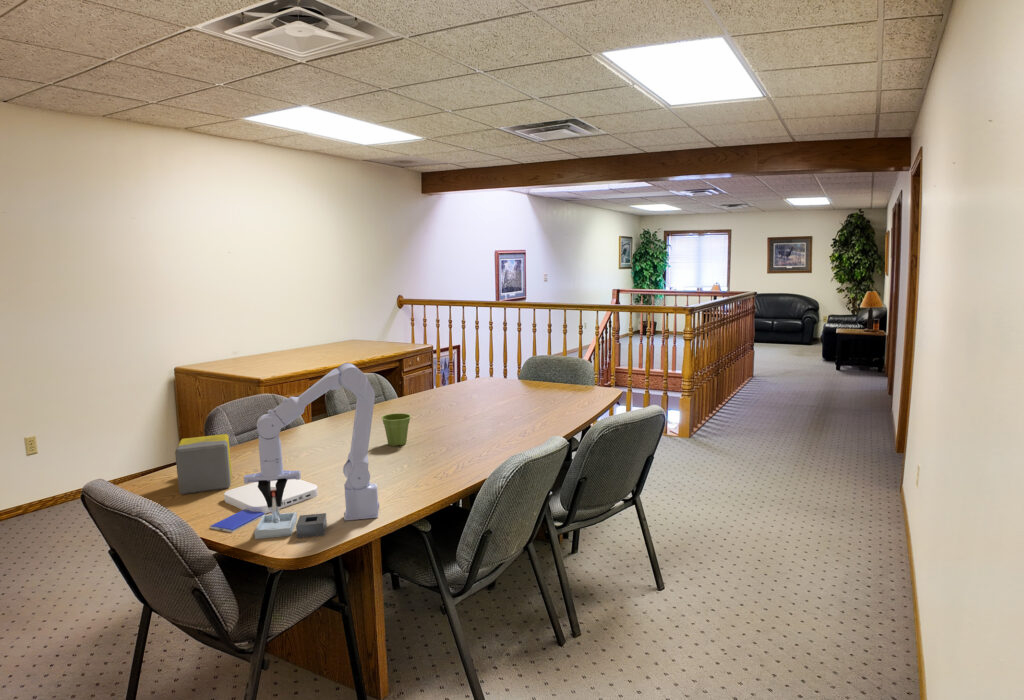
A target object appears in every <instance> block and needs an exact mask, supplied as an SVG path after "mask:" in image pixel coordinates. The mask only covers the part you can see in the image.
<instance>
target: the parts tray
mask: <svg viewBox="0 0 1024 700" xmlns="http://www.w3.org/2000/svg"><path fill="white" fill-rule="evenodd" d="M279 515H280V522H279V523H272V513H271V514H269V513H268V514H265V515H263V516H262V517H261V518H260V519H259V522H258V523H257V525H256V527H255V529H254V533H253V535H254V540H259V539H269V538H270V539H271V538H281V537H291V536H292V533H293V530H294V528H295V527H296V525H297V522H298V514H297V512H296V511H295V512H292V511H291V512H283V513H279Z"/></svg>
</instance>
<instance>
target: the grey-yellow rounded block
mask: <svg viewBox="0 0 1024 700" xmlns="http://www.w3.org/2000/svg"><path fill="white" fill-rule="evenodd" d="M230 448H231V447H230V438H229V434H227V433H223V434H222V433H221V434H215V435H207V436H197V437H187V438H186V437H185V438H181V440H180V441H179V443H178V445H177V447H176V449H175V451H174V453H175V454H174V455H175V464H176V474H177V483H178V492H179V494H180V495H183V496H184V495H189V494H196V493H197V494H198V493H203V492H204V491H205V492H210V491H211V490H212V491H219V490H227V489H229V487H231V483H232V482H231V481H232V475H233V471H232V469H233V468H232V461H231V449H230ZM226 488H227V489H226ZM218 489H219V490H218ZM212 491H211V492H212Z"/></svg>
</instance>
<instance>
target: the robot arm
mask: <svg viewBox="0 0 1024 700" xmlns="http://www.w3.org/2000/svg"><path fill="white" fill-rule="evenodd" d="M342 387H343V388H344V389H346V390H348V391H350V392H351V393H353V395H354V396H355V397H356V404H355V412H354V419H353V420H354V421H353V427H352V436H351V442H350V450H349V453H348V456H347V460H346V462H345V464H344V465H343V470H342V472H343V475H344V477H345V478H346V480H345V482H344V484H343V485H344V500H345V512H344V518H343V521H354V520H357V521H358V520H368V519H376V518H378V517H379V509H380V502H379V492H378V483H371V481H370V479H371V473H370V471H369V458H368V457H369V456H368V454H369V445H370V437H371V432H372V431H371V430H372V423H373V416H374V407H375V406H374V405H375V399H376V398H375V397H376V392H375V390H374V389H373V387H372V385H371V383H370V381H369V378H368V377H367V375H366V374H365V373H364V372H363V371H362V370H361V369H359V368H358V367H357V365H355V364H354V363H351V362H344V363H342V364H340V365H339V366H338V367H336V368H334V369H332V370H330V371H329V372H328V373H327V374H326V375H325V374H324V376H323V377H322V378H320V379H319V380H318V381H316V382H315V383H314V384H312V385H311V386H310V387H309V388H308V389H306V390H305V391H304V392H303V393H301V394H300V395H298V396H289V397H288V398H287V397H284V398H283V399H282V402H281V403H280V404H278V405H277V406H275V408H273V409H268V411H267V414H266V413H265V414H262V415H261V416H260V417H259V418H258V419H257V421H256V425H255V426H256V430H257V433H258V436H257V437H258V453H259V465H260V466H259V467H260V472H256V473H255V472H254V473H250V474H245V475H244V476H243V484H244V485H248V484H251V483H254V482H258V488H259V490H260V491H261V492H262V494H263V496H264V498H265V500H266V502H267V506H268V508H270V507H271V500H270V490H271V487H270V481H276V480H277V482H276V484H275V485H276V490H277V504H278V507H281V505H282V496H283V492H284V488H285V485H286V483H287V480H289V479H296V480H299V479H300V480H301V478H302V477H301V474H302V473H301V470H287V469H286V470H284V464H283V463H284V461H283V453H282V441H281V439H280V433H281V429H282V428H285V427H287V426H288V425H289V424H291V423H292V422H293V421H295V420H296V419H298V418H299V417H300V416H302V415H303V414H304V413H305V408H306V407H307V406H308V405H309V404H311V403H312V402H314V401H315V400H317V399H318V398H320V397H322V396H323V395H324V394H326V393H327V392H329V391H338V390H342Z"/></svg>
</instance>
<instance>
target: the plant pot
mask: <svg viewBox="0 0 1024 700" xmlns="http://www.w3.org/2000/svg"><path fill="white" fill-rule="evenodd" d="M411 418H412V415H411V414H409V413H403V412H402V413H400V412H397V413H396V412H395V413H389V414H388V413H387V414H384V415H382V416H381V417H380V419H381V420H382V423H383V425H384V426H383V427H384V431H385V435H386V440H387V444H388V445H389V446H392V447H396V446H397V447H398V446H404V445H406V444H407V441H408V440H407V439H408V432H409V423H410V422H411V421H410V420H411Z"/></svg>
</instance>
